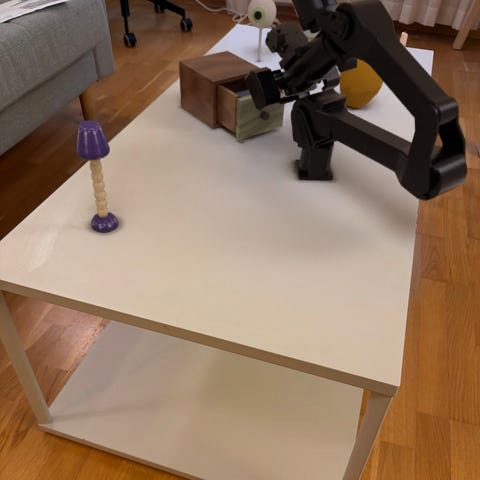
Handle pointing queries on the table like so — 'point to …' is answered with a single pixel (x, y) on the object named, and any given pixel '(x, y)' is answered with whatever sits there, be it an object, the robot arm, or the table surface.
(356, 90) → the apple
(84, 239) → the table surface
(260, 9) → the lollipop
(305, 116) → the robot arm
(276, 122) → the drawer
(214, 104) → the cabinet
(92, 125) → the toy lamp
